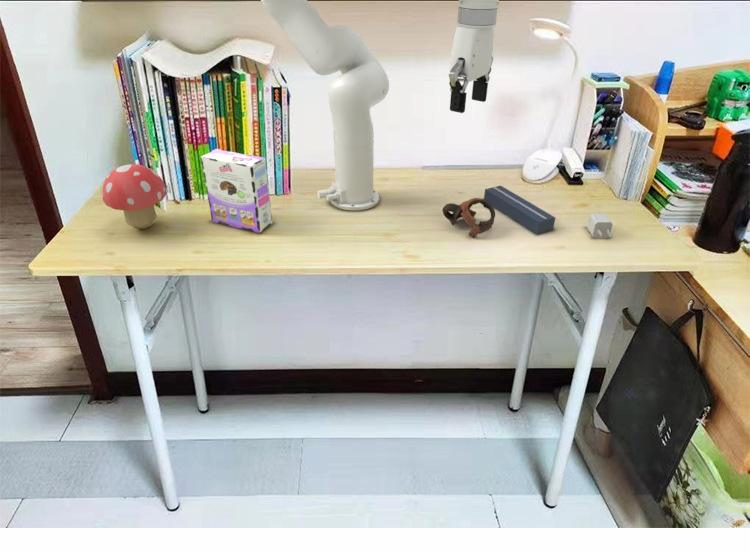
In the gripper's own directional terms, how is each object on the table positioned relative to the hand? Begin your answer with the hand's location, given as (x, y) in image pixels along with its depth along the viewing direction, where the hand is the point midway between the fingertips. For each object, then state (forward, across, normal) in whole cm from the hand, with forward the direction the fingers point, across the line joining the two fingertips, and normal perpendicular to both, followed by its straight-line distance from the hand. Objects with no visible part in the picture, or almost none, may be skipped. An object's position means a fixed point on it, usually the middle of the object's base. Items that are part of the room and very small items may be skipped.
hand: (468, 105), depth 117 cm
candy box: (+28, +30, -41) cm, 58 cm away
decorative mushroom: (+28, +45, -57) cm, 78 cm away
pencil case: (+28, -13, +10) cm, 32 cm away
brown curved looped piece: (+28, +1, +3) cm, 28 cm away
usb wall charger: (+28, -14, +30) cm, 43 cm away
